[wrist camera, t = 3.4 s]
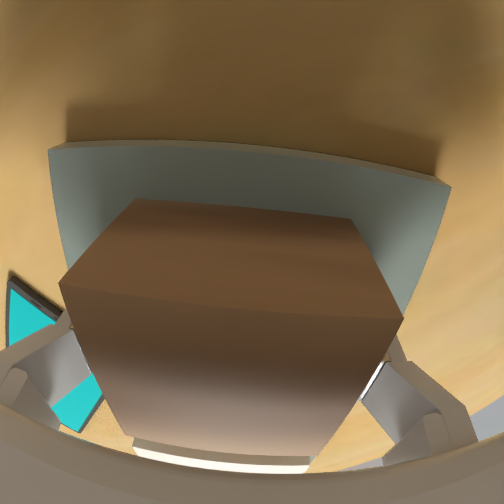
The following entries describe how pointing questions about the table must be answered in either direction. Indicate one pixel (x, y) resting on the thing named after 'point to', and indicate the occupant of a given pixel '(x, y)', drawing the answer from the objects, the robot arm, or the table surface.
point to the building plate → (251, 193)
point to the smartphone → (31, 320)
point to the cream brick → (221, 459)
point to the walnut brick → (230, 324)
